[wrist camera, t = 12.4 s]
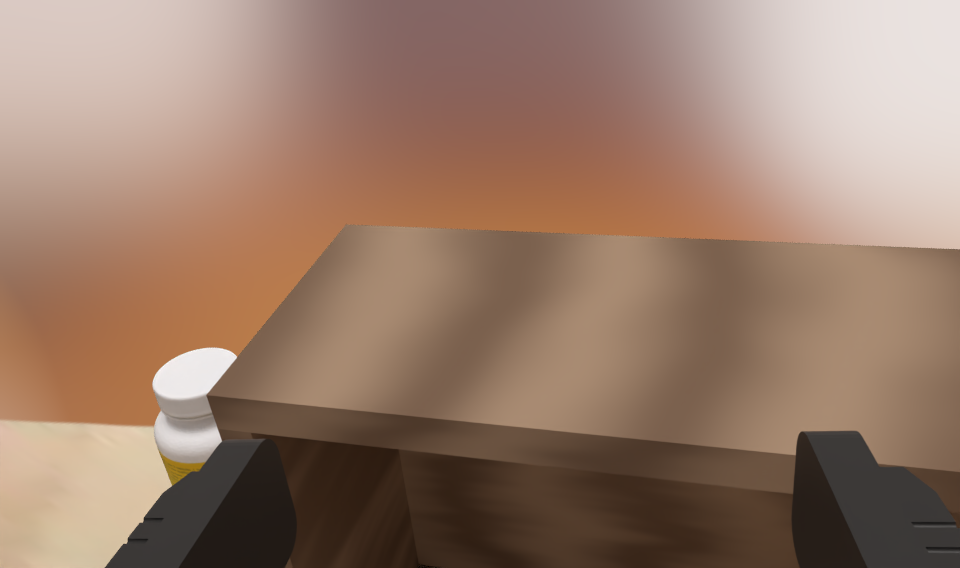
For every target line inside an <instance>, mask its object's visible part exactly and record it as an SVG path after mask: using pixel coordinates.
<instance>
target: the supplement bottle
mask: <svg viewBox="0 0 960 568" xmlns="http://www.w3.org/2000/svg"><path fill="white" fill-rule="evenodd" d="M236 358H237V357H236V355H235V354H233V353H232V352H230V351H228V350H225V349H221V348H204V349H198V350H194V351H190V352H187V353H184V354H182V355H180V356H178V357H176V358H174V359H172V360H170V361H169V362H168V363H166V364H165V365H164V366H163V367H162V368H161V369H160V370H159V371H158V372H157V373H156V375H155V377H154V380H153V390H154V393H155V396H156V398H157V401H158V404H159V406H160V409H161V412H160V413H159V415H158V417H157V419H156V422H155V426H154V437H155V441H156V444H157V447H158V450H159V453H160V455H161V458H162V460H163V463H164V465H165V468H166V471H167V473H168V476H169V479H170V481H171V484H172V486H173V485H174V484H176V483H177V482H178V481H180V480H181V479H182V478H184V477H185V476H186V475H187V474H189V473H190V472H191V471H199V470H200V469H201V468H202V466H203V465H204V464H205V462H206V461H207V460H208V458H209V457H210V456H211V454H212V453H213V451H214V450H215V449H216V447H217V446H218V445H219V444H220V443H221V442H222V440H221V437H220V434H219V431H218V428H217V425H216V422H215V419H214V416H213V414H212V411H211V408H210V405H209V402H208V399H207V396H206V395H207V393H208V392H209V391H210V390H211V389H212V387H213V386H214V385H215V384H216V383H217V381H218V380H219V379H220V378H221V376H222V375H223V374H224V373H225V372H226V370H227V369H228V368H229V367H230V365H231V364H232V363H233V362H234V361H235V359H236Z"/></svg>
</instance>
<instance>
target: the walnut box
mask: <svg viewBox="0 0 960 568" xmlns="http://www.w3.org/2000/svg"><path fill="white" fill-rule="evenodd" d="M206 396H207V399H208V402H209V405H210V408H211V411H212V414H213V416H214V419H215V422H216V425H217V428H218V431H219V434H220V437H221V440H222V441H224V440H228V439H271V440H273V441H274V442H275V444H276V445H277V447H278V450H279V453H280V457H281V461H282V464H283V468H284V472H285V475H286V479H287V483H288V486H289V490H290V494H291V497H292V501H293V505H294V508H295V512H296V518H297V533H296V541H295V545H294V549H293V552H292V554H291V556H290V558H289V560H288V562H287V564H286V567H285V568H418V565H419V564H421V565H428V566H435V567H441V568H800V566H799V563H798V560H797V557H796V553H795V548H794V542H793V535H792V521H791V516H792V501H793V487H794V473H795V459H796V445H797V439H798V435H799V433H800V432H801V431H858V432H859V433H860V434H861V435H862V437H863V438H864V440H865V442H866V444H867V445H868V447H869V449H870V451H871V453H872V454H873V456H874V458H875V460H876V461H877V463H878V465H879V467H904V468H906V469H907V470H908V471H910V472H911V473H912V474H914V475H915V476H916V477H917V478H919V479H920V480H921V481H923V482H924V483H925V484H927V485H928V486H929V487H931V488H932V489H933V490H934V491H936V492H937V494H938V495H939V497H940V498H941V500H942V501H943V503H944V505H945V506H946V508H947V509H948V511H949V512H950V514H951V515H952V517H953V518H954V520H955V521H956V527H957V528H960V250H958V249H934V248H933V249H932V248H909V247H885V246H884V247H882V246H860V245H859V246H858V245H835V244H810V243H786V242H761V241H737V240H713V239H712V240H711V239H688V238H664V237H662V238H661V237H639V236H614V235H590V234H565V233H563V234H562V233H541V232H516V231H492V230H467V229H442V228H417V227H393V226H392V227H391V226H368V225H345V227H344V228H343V229H342V230H341V231H340V233H339V234H338V235H337V236H336V238H335V239H334V240H333V241H332V242H331V244H330V245H329V246H328V247H327V249H326V250H325V251H324V252H323V253H322V255H321V256H320V257H319V258H318V259H317V261H316V262H315V263H314V264H313V266H312V267H311V268H310V269H309V271H308V272H307V273H306V274H305V275H304V277H303V278H302V279H301V280H300V281H299V283H298V284H297V285H296V286H295V288H294V289H293V290H292V291H291V292H290V294H289V295H288V296H287V298H286V299H285V300H284V301H283V302H282V304H281V305H280V306H279V307H278V308H277V310H276V311H275V312H274V313H273V314H272V316H271V317H270V318H269V319H268V320H267V322H266V323H265V324H264V325H263V326H262V328H261V329H260V330H259V331H258V333H257V334H256V335H255V336H254V338H253V339H252V340H251V341H250V342H249V344H248V345H247V346H246V347H245V348H244V350H243V351H242V352H241V353H240V355H239V356H238V357H237V358H236V359H235V361H234V362H233V363H232V364H231V365H230V367H229V368H228V369H227V370H226V372H225V373H224V374H223V375H222V376H221V378H220V379H219V380H218V381H217V383H216V384H215V385H214V386H213V387H212V389H211V390H210V391H209V392H208V393H207V395H206Z"/></svg>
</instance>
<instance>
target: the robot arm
mask: <svg viewBox="0 0 960 568" xmlns="http://www.w3.org/2000/svg"><path fill="white" fill-rule="evenodd" d="M791 521H792V535H793V542H794V548H795V553H796V557H797V560H798V563H799V566H800V568H960V528H957V527H956V521H955V520H954V518H953V517H952V515H951V514H950V512H949V511H948V509H947V508H946V506H945V505H944V503H943V501H942V500H941V498H940V497H939V495H938V494H937V492H936V491H934V490H933V489H932V488H931V487H929V486H928V485H927V484H925V483H924V482H923V481H921V480H920V479H919V478H917V477H916V476H915V475H914V474H912V473H911V472H910V471H908V470H907V469H906V468H904V467H879V465H878V463H877V461H876V460H875V458H874V456H873V454H872V453H871V451H870V449H869V447H868V445H867V444H866V442H865V440H864V438H863V437H862V435H861V434H860V433H859V432H858V431H801V432H800V433H799V435H798V439H797V445H796V459H795V473H794V487H793V501H792V516H791ZM296 533H297V518H296V512H295V508H294V505H293V501H292V497H291V494H290V490H289V486H288V483H287V479H286V475H285V472H284V468H283V464H282V461H281V457H280V453H279V450H278V447H277V445H276V444H275V442H274V441H273V440H271V439H228V440H224V441H222V442H221V443H220V444H219V445H218V446H217V447H216V449H215V450H214V451H213V453H212V454H211V456H210V457H209V458H208V460H207V461H206V462H205V464H204V465H203V466H202V468H201V469H200V470H199V471H191V472H190V473H189V474H187V475H186V476H185V477H184V478H182V479H181V480H180V481H178V482H177V483H176V484H174V485H173V486H172V487H170V488H169V489H168V490H166V491H165V492H164V493H163V494H162V495H161V496H160V498H159V499H158V500H157V501H156V503H155V504H154V505H153V507H152V508H151V509H150V510H149V512H148V513H147V514H146V516H145V517H144V522H143V523H139V525H138V526H137V527H136V528H135V530H134V531H133V532H132V533H131V535H130V536H129V537H128V542H127V544H123V545H122V546H121V548H120V549H119V550H118V551H117V553H116V554H115V555H114V557H113V558H112V559H111V560H110V562H109V563H108V564H107V566H106V567H105V568H285V567H286V564H287V562H288V560H289V558H290V556H291V554H292V552H293V549H294V545H295V541H296Z"/></svg>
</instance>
